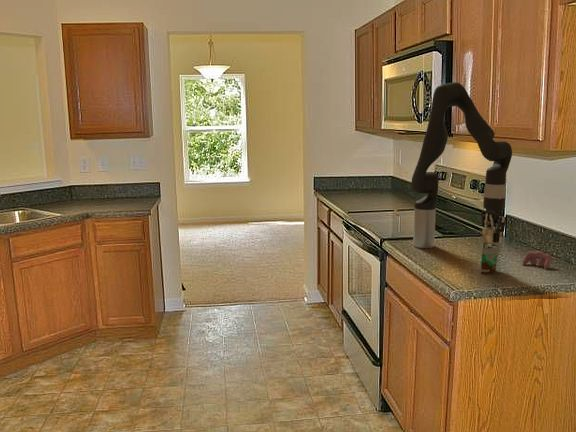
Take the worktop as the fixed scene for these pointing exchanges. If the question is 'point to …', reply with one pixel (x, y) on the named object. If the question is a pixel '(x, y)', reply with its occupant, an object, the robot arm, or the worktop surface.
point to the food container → (489, 258)
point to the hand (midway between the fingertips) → (491, 240)
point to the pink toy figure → (535, 255)
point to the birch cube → (489, 235)
